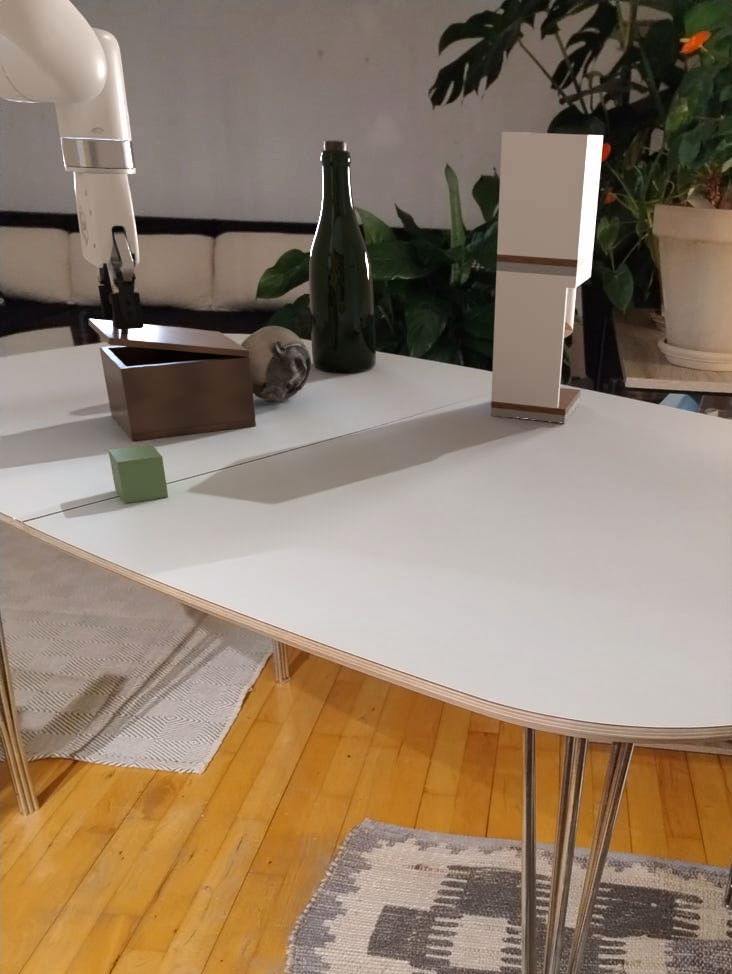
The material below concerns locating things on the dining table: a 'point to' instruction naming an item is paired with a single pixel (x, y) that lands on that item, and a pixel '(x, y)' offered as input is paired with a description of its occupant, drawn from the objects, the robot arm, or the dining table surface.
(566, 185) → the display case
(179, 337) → the chest door
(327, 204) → the dark green glass bottle
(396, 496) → the dining table surface
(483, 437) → the dining table surface
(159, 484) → the block
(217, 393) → the chest
